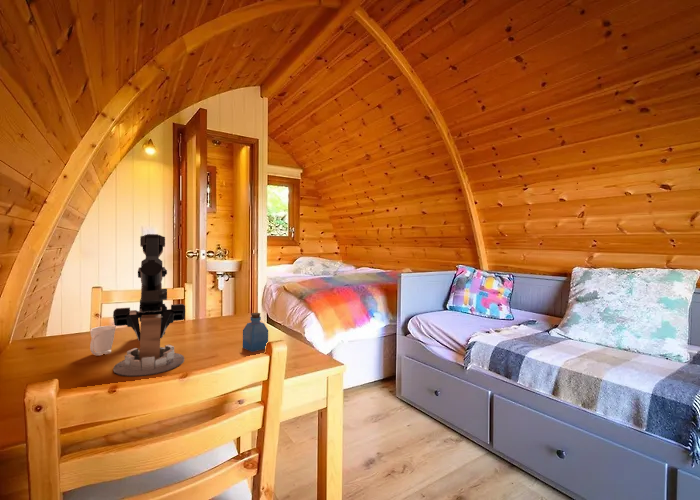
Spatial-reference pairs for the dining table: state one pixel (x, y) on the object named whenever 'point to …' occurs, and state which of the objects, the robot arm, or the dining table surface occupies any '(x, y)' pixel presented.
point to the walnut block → (150, 335)
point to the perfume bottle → (255, 334)
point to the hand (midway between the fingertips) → (150, 338)
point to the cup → (102, 339)
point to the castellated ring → (148, 363)
